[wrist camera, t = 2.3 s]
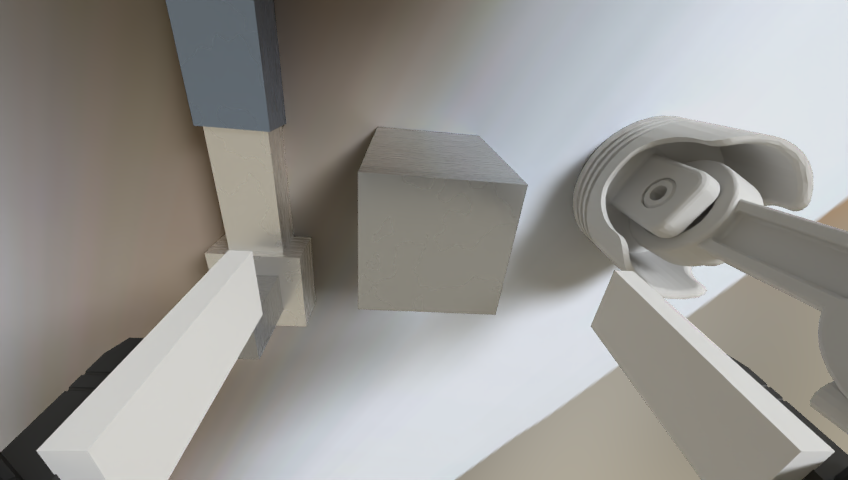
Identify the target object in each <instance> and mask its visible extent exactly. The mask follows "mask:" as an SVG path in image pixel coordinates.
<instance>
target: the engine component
mask: <svg viewBox="0 0 848 480" xmlns="http://www.w3.org/2000/svg"><path fill="white" fill-rule="evenodd" d="M812 192H813V172H812V169H811V166H810V163H809V161H808V159H807V157H806V156H805V154H804V153H803V152H802V151H801V150H800V149H799V148H798V147H797V146H796V145H794V144H792V143H791V142H789V141H787V140H785V139H782V138H779V137H775V136H771V135H766V134H761V133H756V132H751V131H746V130H741V129H736V128H731V127H726V126H721V125H716V124H711V123H706V122H702V121H696V120H692V119H687V118H682V117H677V116H656V117H651V118H647V119H643V120H640V121H637V122H635V123H633V124H631V125H628V126H626V127H624V128H622V129H621V130H619V131H618V132H616V133H615V134H614V135H612V136H611V137H609V138H608V139H607V140H606V141H605V142H604V143H603V144H601V145H600V146H599V147H598V148H597V150H596V151H595V152H594V153H593V154H592V155H591V156H590V158H589V159H588V161H587V162H586V164H585V165H584V167H583V169H582V171H581V173H580V175H579V177H578V180H577V183H576V186H575V189H574V196H573V212H574V217H575V220H576V222H577V224H578V226H579V228H580V230H581V231H582V232H583V233H584V234H585V236H586V237H587V238H588V239H589V240H591V241H592V243H594V244H595V245H596V246H597V247H598V248H599V249H600V250H601V251H602V252H603V253H604V254H605V255H606V256H607V257H608V258H609V259H610V260H611V261H612V262H613V263H614V264H615V265H616V266H617V267H618V268H619V269H620V270H621V271H634V272H635V273H636V274H637V275H638V276H639V277H640V278H642V279H643V280H644V281H645V282H646V283H647V284H648V285H649V286H651V287H652V288H653V289H654V290H655V291H656V292H657V293H658V294H660V295H661V296H662V297H663V298H667V299H689V298H697V297H700V296H702V295H704V294H705V293H706V291H707V290H706V287H705V286H703V285H702V284H701V283H700V282H698V281H697V280H696V279H695V278H694V276H693V274H692V266H701V265H705V266H717V265H720V264H723V263H726V264H728V265H730V266H732V267H734V268H736V269H738V270H740V271H742V272H744V273H746V274H748V275H750V276H752V277H754V278H756V279H758V280H760V281H762V282H764V283H766V284H768V285H770V286H772V287H774V288H776V289H778V290H780V291H782V292H784V293H786V294H788V295H789V296H791V297H794V298H795V299H797V300H799V301H801V302H803V303H805V304H807V305H809V306H811V307H813V308H815V309H817V310H819V311H821V316H820V320H819V330H818V337H819V347H820V351H821V355H822V358H823V360H824V363H825V365H826V368H827V370H828V372H829V374H830V376H831V377H832V379H833V380H834V381H833V382H831V383H828V384H827V385H825V386H823V387H822V388H820V389H819V390H818V391H817V392H815V393H814V395H813V397H812V398H811V400H810V406H811V407H812V408H813V409H815V410H816V411H818V412H819V413H820V414H821V415H823V416H824V417H825V418H827V419H828V420H829V421H831V422H832V423H834V424H835V425H836V426H837V427H839V428H840V429H841V430H843V431H844V432H846V433H847V434H848V231H845V230H841V229H838V228H835V227H832V226H828V225H825V224H822V223H818V222H815V221H812V220H808V219H805V218H802V217H799V216H795V215H792V214H789V213H785V212H782V211H779V210H775V209H772V208H769V207H765V206H767V205H775V206H780V207H783V208H786V209H789V210H791V211H800V210H803V209H804V208H805V207H807V206H808V204H809V203H810V201H811V197H812Z"/></svg>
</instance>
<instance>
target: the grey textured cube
mask: <svg viewBox="0 0 848 480" xmlns="http://www.w3.org/2000/svg"><path fill="white" fill-rule="evenodd" d="M527 186H528V185H527V184H526V183H525V182H524V181H523V179H522V178H521V177H520V176H519V175H518V174H517V173H516V172H515V171H514V170H513V169H512V168H511V167H510V166H509V165H508V164H507V163H506V162H505V161H504V160H503V159H502V158H501V157H500V156H499V155H498V154H497V153H496V152H495V151H494V150H493V149H492V148H491V147H490V146H489V145H488V144H487V143H486V142H485V141H484V140H483V139H482V138H481V137H480V136H476V135H464V134H453V133H442V132H430V131H419V130H407V129H396V128H385V127H377V129H376V132H375V134H374V136H373V138H372V141H371V143H370V145H369V148H368V150H367V152H366V155H365V157H364V159H363V161H362V164H361V166H360V168H359V171H358V309H368V310H393V311H418V312H443V313H468V314H492V315H495V314H496V310H497V306H498V302H499V298H500V294H501V290H502V286H503V282H504V278H505V274H506V270H507V266H508V262H509V258H510V254H511V250H512V246H513V242H514V238H515V234H516V230H517V226H518V222H519V218H520V214H521V210H522V206H523V202H524V198H525V194H526V190H527Z"/></svg>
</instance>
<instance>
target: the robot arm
mask: <svg viewBox="0 0 848 480" xmlns="http://www.w3.org/2000/svg"><path fill="white" fill-rule="evenodd" d="M262 315H263V313H262V307H261V301H260V295H259V289H258V283H257V277H256V271H255V265H254V259H253V253H252V251H236V250H228V251H227V252H226V253H225V254H224V256H223V257H222V258H221V259H220V260H219V261H218V262H217V263H216V264H215V265H214V266H213V267H212V268H211V269H210V270H209V271H208V272H207V273H206V274H205V275H204V276H203V277H202V278H201V280H200V281H199V282H198V283H197V284H196V285H195V286H194V287H193V288H192V289H191V290H190V291H189V292H188V293H187V294H186V295H185V296H184V297H183V298H182V299H181V300H180V301H179V302H178V303H177V305H176V306H175V307H174V308H173V309H172V310H171V311H170V312H169V313H168V314H167V315H166V316H165V317H164V318H163V319H162V320H161V321H160V322H159V323H158V324H157V325H156V326H155V327H154V329H153V330H152V331H151V332H150V333H149V334H148V335H147V336H146V337H145V338H128V339H127V340H125V341H124V342H122V343H120V344H119V345H117V346H115V347H114V348H112V349H110V350H109V351H107V352H106V353H104V354H103V355H102V356H101V357H100V358H99V359H98V360H97V361H96V362H95V363H94V364H93V365H92V366H91V367H90V368H89V369H88V370H86V373H85V375H81V376H80V377H79V378H78V379H77V380H76V381H75V382H74V383H73V384H72V385H71V386H70V387H69V390H68V391H64V392H63V393H62V394H61V395H60V396H59V397H58V398H57V399H56V400H55V401H54V402H53V403H52V404H51V405H50V406H49V407H48V408H47V409H46V410H45V411H44V412H42V413H41V414H40V415H39V416H38V417H37V418H36V419H35V420H34V421H33V422H32V423H31V424H30V425H29V426H28V427H27V428H26V429H25V430H24V431H23V432H22V433H20V434H19V435H18V436H17V437H16V438H15V439H14V440H13V441H12V442H11V443H10V444H9V445H8V446H7V447H6V448H5V449H4V450H3V451H2V452H0V480H168V479H169V477H170V475H171V474H172V472H173V470H174V468H175V467H176V465H177V463H178V461H179V460H180V458H181V456H182V454H183V453H184V451H185V449H186V448H187V446H188V444H189V442H190V441H191V439H192V437H193V435H194V434H195V432H196V430H197V428H198V427H199V425H200V423H201V421H202V420H203V418H204V416H205V414H206V413H207V411H208V409H209V407H210V406H211V404H212V402H213V400H214V399H215V397H216V395H217V393H218V392H219V390H220V388H221V386H222V385H223V383H224V381H225V379H226V378H227V376H228V374H229V372H230V371H231V369H232V367H233V365H234V364H235V362H236V360H237V358H238V357H239V355H240V353H241V351H242V350H243V348H244V346H245V344H246V343H247V341H248V339H249V338H250V336H251V334H252V332H253V331H254V329H255V327H256V325H257V324H258V322H259V320H260V318H261V317H262ZM591 327H592V329H593V330H594V331H595V333H596V334H597V336H598V337H599V338H600V340H601V341H602V342H603V344H604V345H605V347H606V348H607V349H608V351H609V352H610V354H611V355H612V356H613V358H614V359H615V361H616V362H617V363H618V365H619V366H620V368H621V369H622V370H623V372H624V373H625V374H626V376H627V377H628V379H629V380H630V381H631V383H632V384H633V386H634V387H635V388H636V390H637V391H638V393H639V394H640V395H641V397H642V398H643V400H644V401H645V402H646V404H647V405H648V407H649V408H650V409H651V411H652V412H653V413H654V415H655V416H656V418H657V419H658V420H659V422H660V423H661V425H662V426H663V427H664V429H665V430H666V432H667V433H668V434H669V436H670V437H671V439H672V440H673V441H674V443H675V444H676V446H677V447H678V448H679V450H680V451H681V452H682V454H683V455H684V457H685V458H686V459H687V461H688V462H689V464H690V465H691V466H692V468H693V469H694V470H695V472H696V473H697V475H698V476H699V477H700V479H701V480H848V455H847V454H846V453H845V452H844V451H843V450H842V449H841V448H839V447H838V446H837V445H836V444H835V443H834V442H832V441H831V440H830V439H829V438H828V437H827V436H826V435H824V434H823V433H822V432H821V431H820V430H819V429H818V428H816V427H815V426H814V425H813V424H812V423H811V422H810V421H809V420H807V419H806V418H805V417H804V416H803V415H802V414H801V413H799V412H798V411H797V410H796V409H795V408H794V407H793V406H791V405H790V404H789V403H788V402H787V401H783V399H782V397H781V396H780V395H779V394H778V393H777V392H775V391H774V390H773V389H772V388H770V387H767V384H766V383H765V382H764V381H763V380H762V379H760V378H759V377H758V376H757V375H756V374H755V373H754V372H752V371H751V370H750V369H749V368H748V367H746V366H745V365H743V364H741V363H740V362H738V361H737V360H735V359H734V358H732V357H730V356H729V355H727V354H726V353H724V352H723V351H722V350H721V349H720V348H719V347H718V346H717V345H715V344H714V343H713V342H712V341H711V340H710V339H709V338H708V337H706V336H705V335H704V334H703V333H702V332H701V331H700V330H699V329H698V328H696V327H695V326H694V325H693V324H692V323H691V322H690V321H689V320H687V319H686V318H685V317H684V316H683V315H682V314H681V313H680V312H679V311H677V310H676V309H675V308H674V307H673V306H672V305H671V304H670V303H668V302H667V301H666V300H665V299H664V298H663V297H662V296H661V295H660V294H658V293H657V292H656V291H655V290H654V289H653V288H652V287H651V286H649V285H648V284H647V283H646V282H645V281H644V280H643V279H642V278H640V277H639V276H638V275H637V274H636V273H635V272H634V271H619V270H614V272H613V275H612V277H611V279H610V282H609V284H608V287H607V289H606V291H605V294H604V296H603V298H602V301H601V303H600V306H599V308H598V310H597V313H596V315H595V317H594V320H593V322H592V325H591Z"/></svg>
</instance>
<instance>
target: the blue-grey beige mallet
mask: <svg viewBox="0 0 848 480" xmlns="http://www.w3.org/2000/svg"><path fill="white" fill-rule="evenodd" d="M166 5H167V9H168V13H169V18H170V22H171V27H172V31H173V36H174V40H175V45H176V49H177V53H178V58H179V62H180V67H181V71H182V76H183V80H184V85H185V89H186V94H187V98H188V102H189V107H190V111H191V116H192V120H193V125H194V126H203V129H204V134H205V139H206V143H207V148H208V153H209V158H210V162H211V167H212V172H213V176H214V181H215V186H216V191H217V195H218V200H219V205H220V209H221V214H222V219H223V223H224V228H225V234H224V235H223V236H222V237H221V238H220V239H219V240H218V241H217V242H216V243H215V244H214V245H213V246H212V247H211V248H209V249H208V250H207V251H206V252H205V257H206V261H207V265H208V269H209V270H210V269H211V268H212V267H213V266H214V265H215V264H216V263H217V262H218V261H219V260H220V259H221V258H222V257H223V256H224V254H225V253H226V252H227V251H228V250H236V251H252V253H253V259H254V265H255V271H256V277H257V283H258V289H259V295H260V301H261V307H262V313H263V315H262V317H261V318H260V320H259V322H258V324H257V325H256V327H255V329H254V331H253V332H252V334H251V336H250V338H249V339H248V341H247V343H246V344H245V346H244V348H243V350H242V351H241V353H240V355H239V357H238V358H237V359H260V357H261V355H262V353H263V351H264V349H265V347H266V345H267V343H268V341H269V338H270V336H271V334H272V332H273V330H274V328H275V326H276V325H278V326H307V323H308V321H309V318H310V315H311V313H312V310H313V307H314V305H315V302H316V297H315V284H314V271H313V258H312V245H311V237H298V236H294V235H293V225H292V216H291V206H290V197H289V187H288V178H287V168H286V158H285V149H284V139H283V130H282V126H283V125H284V124H286V119H285V109H284V99H283V89H282V79H281V68H280V58H279V48H278V38H277V28H276V18H275V8H274V0H166Z"/></svg>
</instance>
